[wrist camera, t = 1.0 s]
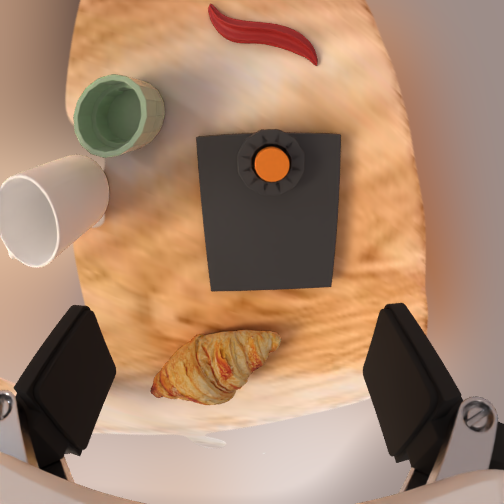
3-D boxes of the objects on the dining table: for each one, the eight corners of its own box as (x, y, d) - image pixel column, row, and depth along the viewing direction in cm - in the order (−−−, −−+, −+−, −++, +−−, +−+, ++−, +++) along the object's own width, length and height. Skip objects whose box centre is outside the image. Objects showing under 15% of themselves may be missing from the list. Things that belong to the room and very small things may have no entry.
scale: (198, 132, 26) (192, 134, 23) (336, 130, 25) (346, 131, 23) (212, 284, 33) (209, 300, 30) (328, 280, 32) (334, 295, 30)
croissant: (264, 295, 37) (247, 308, 29) (303, 360, 36) (296, 388, 28) (150, 357, 42) (119, 375, 34) (183, 410, 41) (159, 435, 33)
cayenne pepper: (194, 20, 20) (190, 13, 19) (225, -12, 19) (224, -20, 17) (296, 88, 24) (299, 86, 22) (326, 56, 22) (331, 52, 20)
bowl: (100, 89, 23) (71, 86, 18) (164, 75, 23) (144, 66, 18) (105, 153, 26) (77, 163, 21) (168, 144, 26) (150, 150, 21)
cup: (126, 195, 28) (76, 232, 19) (67, 255, 31) (21, 300, 22) (81, 137, 25) (19, 153, 16) (29, 206, 28) (-24, 239, 19)
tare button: (254, 146, 24) (254, 148, 22) (287, 146, 24) (289, 147, 22) (255, 178, 25) (255, 182, 24) (287, 177, 25) (289, 181, 23)
